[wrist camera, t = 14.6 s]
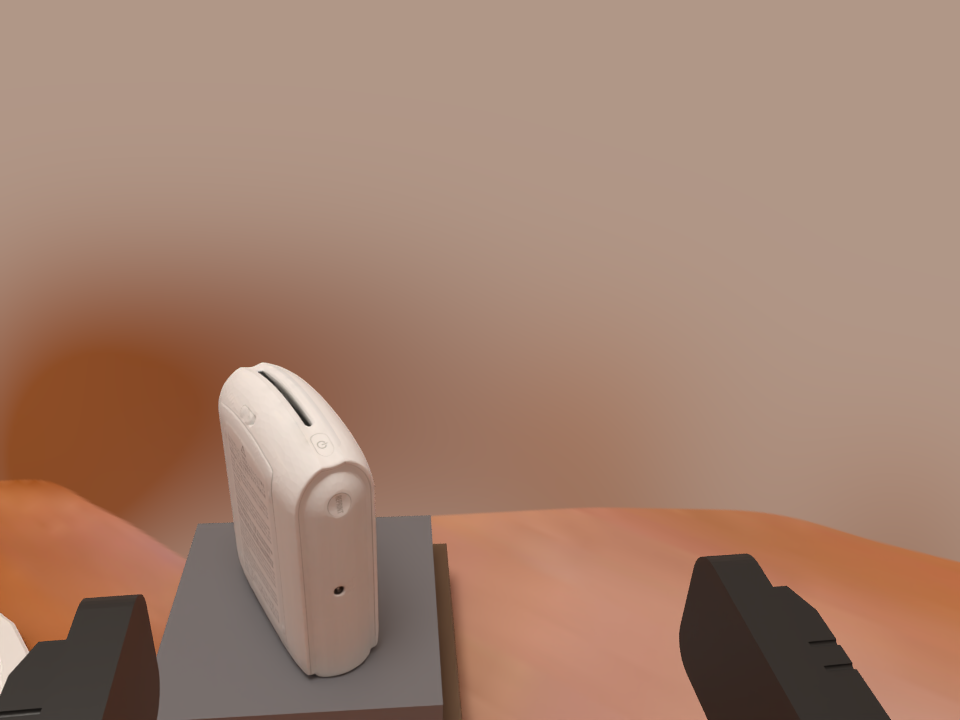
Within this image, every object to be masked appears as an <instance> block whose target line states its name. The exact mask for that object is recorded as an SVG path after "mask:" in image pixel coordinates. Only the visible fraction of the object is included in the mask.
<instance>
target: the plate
mask: <svg viewBox="0 0 960 720" xmlns="http://www.w3.org/2000/svg"><path fill="white" fill-rule="evenodd" d="M28 653H29V651H28V649H27V647H26V645H25V643H24V641H23V639H22V637H21V635H20V633H19V632H18V630H17V628H16V626H15V624H14V623H13V622H12V621H10V620H9V619H8V618H6V617H5V616H4V615H2V614H1V613H0V694H1V692H2V690H3V687H4V685H5V682H6V680H7V678H8V675H9V674H10V673H11V672H12V671H13V670H14V669H15V667H16V666H17V665H18V664H19V663H20V662H21V661H22V660H23V659H24V657H25V656H26V655H27V654H28Z"/></svg>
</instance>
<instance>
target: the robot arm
mask: <svg viewBox="0 0 960 720" xmlns="http://www.w3.org/2000/svg"><path fill="white" fill-rule="evenodd" d="M679 643H680V652H681V657H682V661H683V665H684V668H685V670H686V673H687V675H688V677H689V680H690V682H691V684H692V686H693V688H694V691H695V693H696V695H697V697H698V699H699V701H700V704H701V706H702V708H703V710H704V712H705V715H706V717H707V719H708V720H891V719H890V718H889V716H888V715H887V713H886V712H885V710H884V709H883V707H882V706H881V704H880V703H879V701H878V700H877V699H876V697H875V696H874V694H873V693H872V691H871V690H870V688H869V687H868V685H867V684H866V682H865V681H864V679H863V678H862V676H861V675H860V673H859V672H858V671H857V669H853V667H852V662H851V660H850V659H849V657H848V656H847V654H846V653H845V651H844V650H843V648H842V647H841V645H837V643H836V638H835V637H834V635H833V634H832V632H831V631H830V629H829V628H828V626H827V625H826V623H825V622H824V620H823V619H822V617H821V616H820V615H819V613H818V612H817V610H816V609H814V608H813V607H812V606H811V605H810V604H808V603H807V602H806V601H805V600H803V599H802V598H801V597H800V596H799V595H797V594H796V593H795V592H794V591H792V590H791V589H790V588H789V587H787V586H779V587H773V586H772V585H771V583H770V581H769V580H768V578H767V577H766V575H765V574H764V572H763V570H762V569H761V567H760V566H759V564H758V563H757V561H756V560H755V559H754V558H753V557H752V556H751V555H749V554H735V555H721V556H706V557H700V558H698V560H697V561H696V563H695V565H694V569H693V573H692V578H691V582H690V586H689V591H688V595H687V599H686V604H685V608H684V612H683V617H682V621H681V625H680V632H679ZM159 699H160V677H159V669H158V663H157V658H156V653H155V647H154V642H153V637H152V632H151V626H150V621H149V616H148V611H147V605H146V601H145V598H144V597H143V595H141V594H139V595H125V596H110V597H96V598H85V599H83V600H82V601H81V603H80V604H79V606H78V609H77V611H76V614H75V617H74V620H73V623H72V625H71V628H70V631H69V634H68V637H67V639H66V640H56V641H44V642H38V643H37V644H36V645H35V646H34V648H33V649H32V650H31V651H30V652H29V653H28V654H27V655H26V656H25V657H24V659H23V660H22V661H21V662H20V663H19V664H18V665H17V666H16V667H15V669H14V670H13V671H12V672H11V673H10V674H9V675H8V678H7V680H6V682H5V685H4V687H3V690H2V692H1V694H0V720H157V716H158V710H159Z"/></svg>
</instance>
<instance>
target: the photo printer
mask: <svg viewBox="0 0 960 720" xmlns="http://www.w3.org/2000/svg"><path fill="white" fill-rule="evenodd" d="M219 417H220V424H221V431H222V437H223V445H224V452H225V460H226V468H227V474H228V482H229V490H230V498H231V506H232V513H233V521H234V529H235V536H236V544H237V551H238V555H239V560H240V563H241V566H242V568H243V571H244V573H245V575H246V578H247V580H248V582H249V584H250V586H251V588H252V589H253V591H254V593H255V595H256V597H257V599H258V600H259V602H260V604H261V606H262V608H263V609H264V611H265V613H266V615H267V616H268V618H269V620H270V622H271V623H272V625H273V627H274V629H275V630H276V632H277V634H278V635H279V637H280V639H281V641H282V642H283V644H284V645H285V647H286V649H287V650H288V652H289V653H290V655H291V656H292V658H293V659H294V661H295V662H296V663H297V665H298V666H299V667H300V668H301V669H302V670H303V672H305V673H306V674H307V675H312V674H316V675H318V676H320V677H330V676H336V675H340V674H343V673H346V672H348V671H350V670H352V669H354V668H356V667H357V666H359V665H360V664H361V663H362V662H363V661H364V660H365V659H366V658H367V656H368V655H369V653H370V649H371V648H372V647H374V646H376V645H377V642H378V632H379V621H378V578H377V543H376V510H375V486H374V482H373V478H372V474H371V471H370V468H369V465H368V463H367V461H366V459H365V456H364V454H363V452H362V451H361V449H360V448H359V446H358V444H357V442H356V440H355V439H354V437H353V436H352V434H351V433H350V431H349V430H348V428H347V427H346V425H345V424H344V423H343V421H342V420H341V419H340V418H339V416H338V415H337V414H336V413H335V411H334V410H333V409H332V408H331V406H330V405H329V404H328V403H327V402H326V401H325V400H324V399H323V398H322V396H321V395H320V394H319V393H318V392H317V391H316V390H314V389H313V388H312V387H311V386H310V385H309V384H308V383H307V382H305V381H304V380H303V379H302V378H300V377H299V376H297V375H295V374H294V373H292V372H290V371H289V370H287V369H284V368H282V367H280V366H276V365H273V364H268V363H260V364H258V365H256V366H254V367H249V368H246V367H245V368H244V367H241V368H239V369H237V370H236V371H235V372H234V373H233V374H232V375H231V376H230V377H229V378H228V379H227V381H226V382H225V384H224V386H223V388H222V390H221V393H220V397H219Z"/></svg>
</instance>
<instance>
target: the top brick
mask: <svg viewBox="0 0 960 720" xmlns="http://www.w3.org/2000/svg"><path fill="white" fill-rule="evenodd" d="M376 543H377V578H378V621H379V632H378V642H377V645H376V646H374V647H372V648H371V649H370V653H369V655H368V656H367V658H366V659H365V660H364V661H363V662H362V663H361V664H360V665H359V666H357V667H356V668H354V669H352V670H350V671H348V672H346V673H343V674H340V675H336V676H330V677H320V676H318V675H316V674H312V675H307V674H306V673H305V672H303V670H302V669H301V668H300V667H299V666H298V665H297V663H296V662H295V661H294V659H293V658H292V656H291V655H290V653H289V652H288V650H287V649H286V647H285V645H284V644H283V642H282V641H281V639H280V637H279V635H278V634H277V632H276V630H275V629H274V627H273V625H272V623H271V622H270V620H269V618H268V616H267V615H266V613H265V611H264V609H263V608H262V606H261V604H260V602H259V600H258V599H257V597H256V595H255V593H254V591H253V589H252V588H251V586H250V584H249V582H248V580H247V578H246V575H245V573H244V571H243V568H242V566H241V563H240V560H239V555H238V551H237V544H236V536H235V529H234V523H208V524H198V526H197V529H196V532H195V535H194V538H193V542H192V545H191V548H190V551H189V555H188V558H187V561H186V564H185V567H184V570H183V574H182V577H181V580H180V583H179V586H178V590H177V593H176V596H175V599H174V602H173V606H172V609H171V612H170V615H169V618H168V622H167V625H166V628H165V631H164V634H163V638H162V641H161V644H160V647H159V650H158V654H157V657H156V658H157V663H158V669H159V677H160V699H159V710H158V716H157V720H443V697H442V681H441V666H440V651H439V636H438V620H437V605H436V590H435V575H434V560H433V544H432V529H431V516H430V515H428V516H401V517H376Z"/></svg>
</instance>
